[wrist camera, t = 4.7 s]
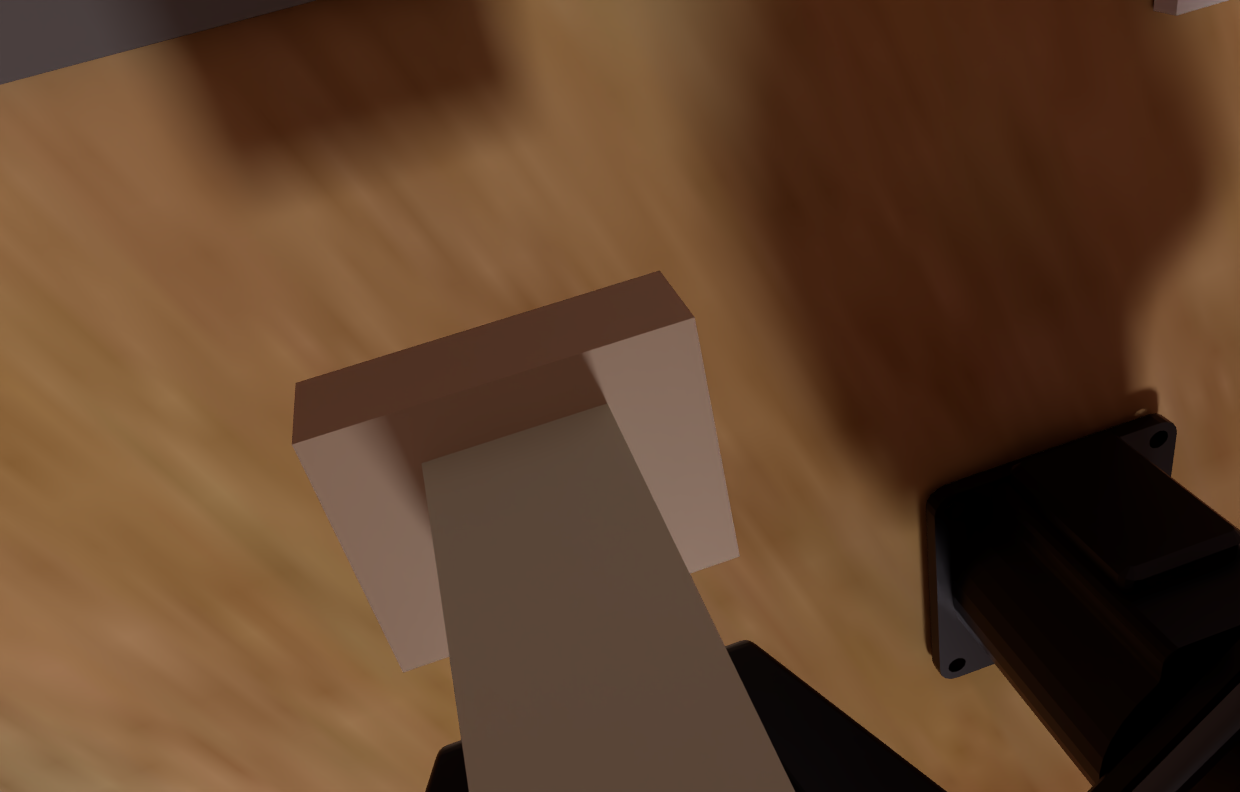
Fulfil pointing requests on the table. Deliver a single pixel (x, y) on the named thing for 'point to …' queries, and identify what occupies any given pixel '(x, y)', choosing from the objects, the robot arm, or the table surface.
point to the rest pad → (1182, 5)
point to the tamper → (549, 540)
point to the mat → (105, 28)
